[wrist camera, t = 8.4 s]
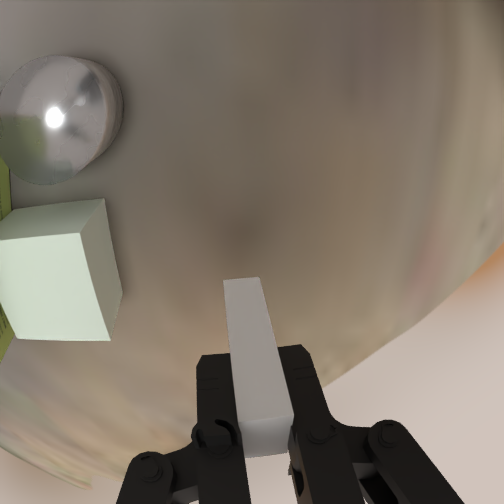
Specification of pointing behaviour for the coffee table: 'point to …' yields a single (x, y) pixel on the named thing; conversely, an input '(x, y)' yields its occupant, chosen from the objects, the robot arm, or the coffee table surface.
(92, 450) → the coffee table surface
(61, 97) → the metal tin
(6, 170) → the protein box
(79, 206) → the sage block
